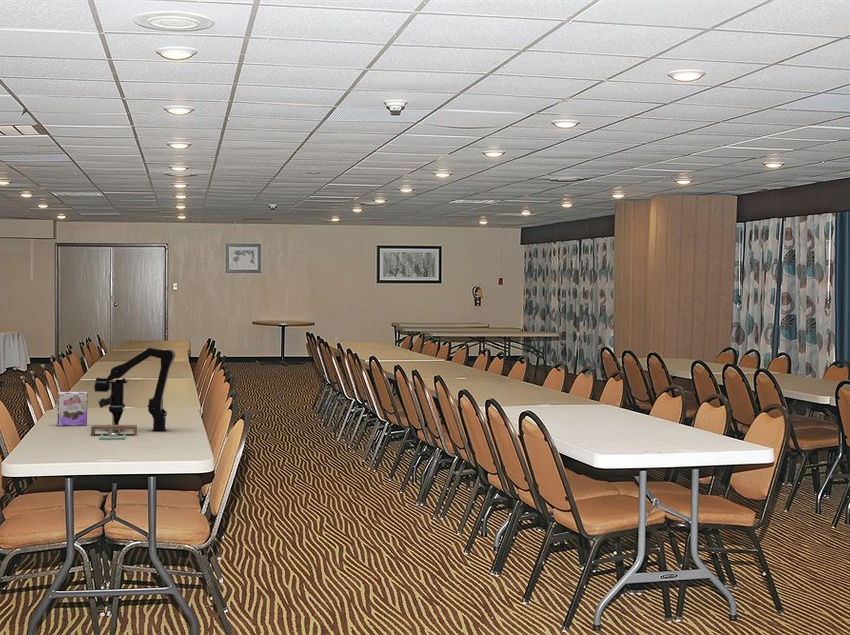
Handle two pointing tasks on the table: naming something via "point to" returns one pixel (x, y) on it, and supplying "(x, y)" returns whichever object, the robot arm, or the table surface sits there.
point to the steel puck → (113, 434)
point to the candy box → (72, 409)
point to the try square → (113, 429)
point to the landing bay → (112, 438)
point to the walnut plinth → (113, 428)
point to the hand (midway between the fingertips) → (116, 424)
